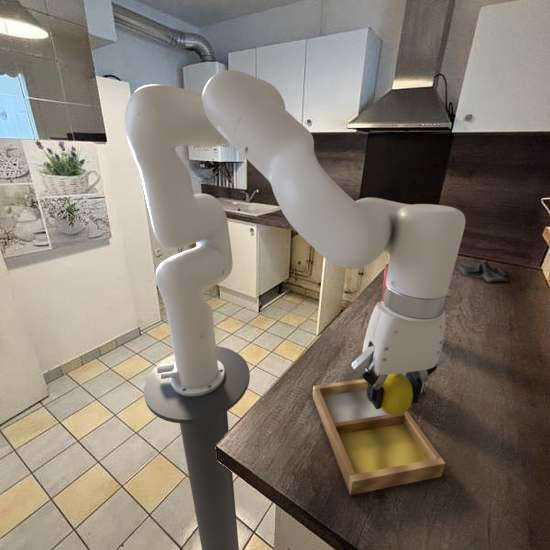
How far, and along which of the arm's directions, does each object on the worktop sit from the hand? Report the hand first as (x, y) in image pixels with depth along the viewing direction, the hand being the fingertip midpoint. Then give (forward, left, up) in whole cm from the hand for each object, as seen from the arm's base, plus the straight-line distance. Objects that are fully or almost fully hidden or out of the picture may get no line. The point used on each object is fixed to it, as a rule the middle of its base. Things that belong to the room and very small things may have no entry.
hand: (392, 398), depth 46 cm
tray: (0, +5, -13) cm, 14 cm away
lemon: (0, 0, -3) cm, 3 cm away
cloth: (+88, +70, -13) cm, 113 cm away
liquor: (+24, +39, -13) cm, 47 cm away
